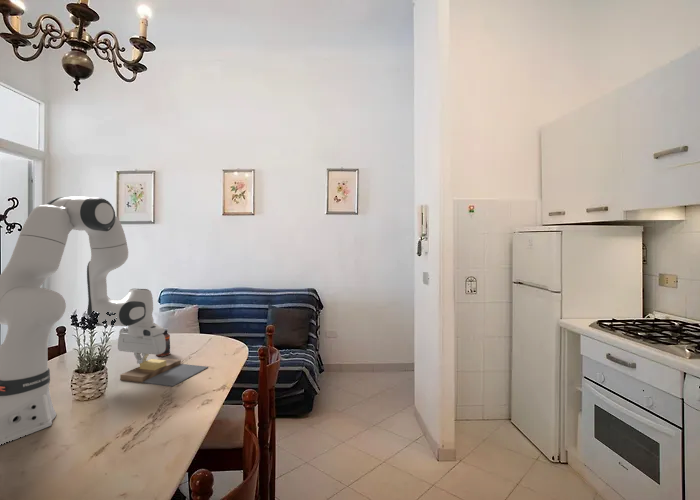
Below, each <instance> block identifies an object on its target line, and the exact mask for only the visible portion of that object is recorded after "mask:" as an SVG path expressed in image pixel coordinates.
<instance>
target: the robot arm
mask: <svg viewBox="0 0 700 500" xmlns="http://www.w3.org/2000/svg"><path fill="white" fill-rule="evenodd" d="M72 230H73V231H81V232H82V231H85V232H86V234H87V235H88V241H89V247H90V254H91V255H90V260H89V261H88V263H87V265H86V284H87V295H88V296H87V297H88V299H87V300H88V301H87V302H88V303H87V310H86V315H89V314H90V313H91V312H93V311H94V310H95V311H96V312H98V313H100V315H99V317H98V323H97V324H96V326H97V327H105V326H104V324H103V323H102V322H103V321H105V319H106V321H107V325H108V326H109V327H110V326H111V327H122V328H121V329H120V330H119V334H118V339H117V349H118V351H119V352H125V353H126V352H127V353H133V355H134V357H135V359H136V364H138V365H140V363H143V362H145V361H147V358H148V357H149V355H154V356H156V355H159V354H162V353H164V352H165V350H166V342H165V336H164V334H162V333H164V332H165V329H166V328H165V327H163V326H161V325H159V324H157V323H155V322H154V317H153V312H154V300H153V294H152V292H151V290H149V289H148V288H131V289H129V291H128V293H127V295H126V296H124V297H123V298H121V299H111V298H110V297H109V296H108V289H107V288H108V286H107V283H108V282H107V277H108V274H109V273H110V272H112V271H114V270H116V269H119V268H121V267H122V266H123V265H124V264H125V263H126V262H127V260H128V258H129V248H128V247H129V246H128V243H127V237H126V234H125V230H124V228H123V225H122V222H121V220H120V218H119V217H118V216H116V211H115V209H114V206H113V205H112V203H110V201H108V200H107V199H105V198H102V197H97V196H91V197H89V196H79V195H78V196H77V195H76V196H73V195H72V196H66V197H65V196H60V197H57V198H53V199H51V200H49V201H48V202H47V203H46V204H41V205H38V206H36V207H34V208H33V209H32V210H31V212H30V213H29V215H28V216H27V218H26V220H25V221H24V224H23V226H22V228H21V230H20V233H19V235H18V237H17V241H16V244H15V246H14V248H13V251H12V253H11V257H10V259H9V262H7V264H6V267H4V269H3V270H2V272H1V273H0V325H7V332H6V335H5V338H4V341H3V342H2V343H1V344H0V446H2V445H4V443H5V444H7V443H6V442H8V443H10V442H12V440H13V441H15V440H17V439H20V437H21V438H23V437H26V436H28V435H30V434H33V433H36V432H39V431H40V430H43V429H47V428H48V427H51V426H53V425H52V424H53V421H54V419H55V418H56V416H57V412H56V410H55V407H54V405H53V401H52V396H51V392H50V382H51V371H50V368H49V367H48V366H49V365H48V361H49V360H48V358H49V357H48V351H49V350H48V347H49V346H48V345H49V339H50V335H51V333H52V329H53V328H54V326H55V325H56V323H57V322H59V320H61V318H62V317H63V316H64V315H65V312H66V310H67V309H66V307H67V304H66V303H67V302H66V300H65V298H64V297H63V295H61V294H60V293H59V292H57V291H54V290H52V289H49V288H45V287H42V285H44V283H45V281H46V280H47V279H48V278H49V277H50V276H52V275H54V274H55V273H56V272H57V271H58V270H59V266H60V264H61V260H62V257H63V255H64V251H65V249H66V248H65V247H66V245H67V241H68V237H69V234H70V232H71V231H72ZM108 310H109V311H108ZM110 311H111V312H113V314H114V313H116V314H115V315H111V316H109V315H107V314H106V313H107V312H109V314H110V313H111V312H110ZM116 317H117V319H116ZM114 319H115V320H116V322H115V323H114V325H113V326H112V325H111V321H112V320H113V321H114ZM108 326H107V327H108ZM25 435H26V436H25ZM9 441H10V442H9ZM1 444H2V445H1Z"/></svg>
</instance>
